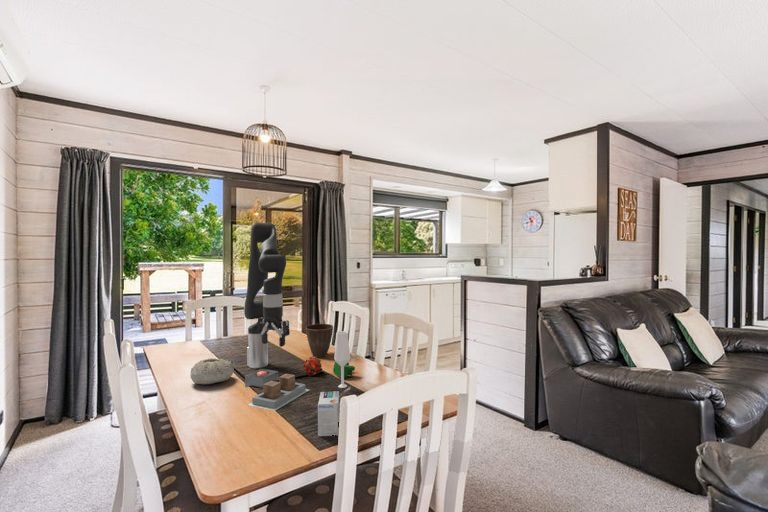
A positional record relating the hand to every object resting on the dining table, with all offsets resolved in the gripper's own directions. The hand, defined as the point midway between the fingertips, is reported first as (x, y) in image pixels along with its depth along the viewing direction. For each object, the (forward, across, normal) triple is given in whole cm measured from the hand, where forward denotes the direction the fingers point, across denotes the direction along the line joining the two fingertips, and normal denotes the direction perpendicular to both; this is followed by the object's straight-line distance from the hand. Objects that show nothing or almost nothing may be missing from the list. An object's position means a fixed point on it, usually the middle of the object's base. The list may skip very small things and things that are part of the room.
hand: (273, 344), depth 158 cm
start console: (+22, -14, +9) cm, 28 cm away
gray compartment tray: (+21, +4, -1) cm, 22 cm away
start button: (+21, -14, +9) cm, 27 cm away
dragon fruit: (+22, -2, +29) cm, 37 cm away
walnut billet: (+20, +4, -5) cm, 21 cm away
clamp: (+22, +12, +34) cm, 43 cm away
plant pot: (+23, -16, +56) cm, 62 cm away
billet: (+20, +4, +4) cm, 21 cm away
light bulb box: (+21, +35, -14) cm, 43 cm away
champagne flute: (+22, +21, +19) cm, 35 cm away
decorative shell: (+23, -37, +3) cm, 44 cm away
